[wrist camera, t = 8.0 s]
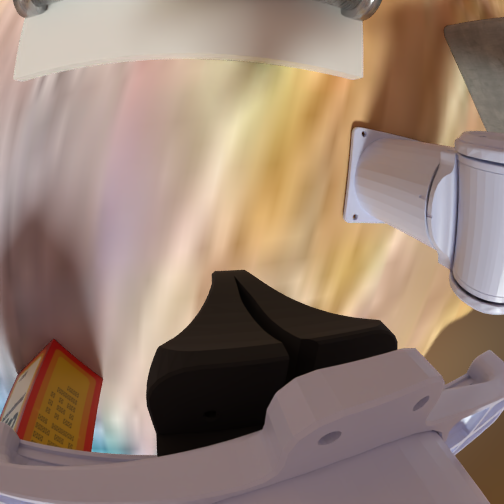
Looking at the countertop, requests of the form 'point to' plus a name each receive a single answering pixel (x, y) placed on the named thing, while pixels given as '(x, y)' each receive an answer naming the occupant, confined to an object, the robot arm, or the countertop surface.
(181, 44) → the mounting board
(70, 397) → the baking soda box
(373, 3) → the ball valve
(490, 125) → the hip flask
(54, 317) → the countertop surface
